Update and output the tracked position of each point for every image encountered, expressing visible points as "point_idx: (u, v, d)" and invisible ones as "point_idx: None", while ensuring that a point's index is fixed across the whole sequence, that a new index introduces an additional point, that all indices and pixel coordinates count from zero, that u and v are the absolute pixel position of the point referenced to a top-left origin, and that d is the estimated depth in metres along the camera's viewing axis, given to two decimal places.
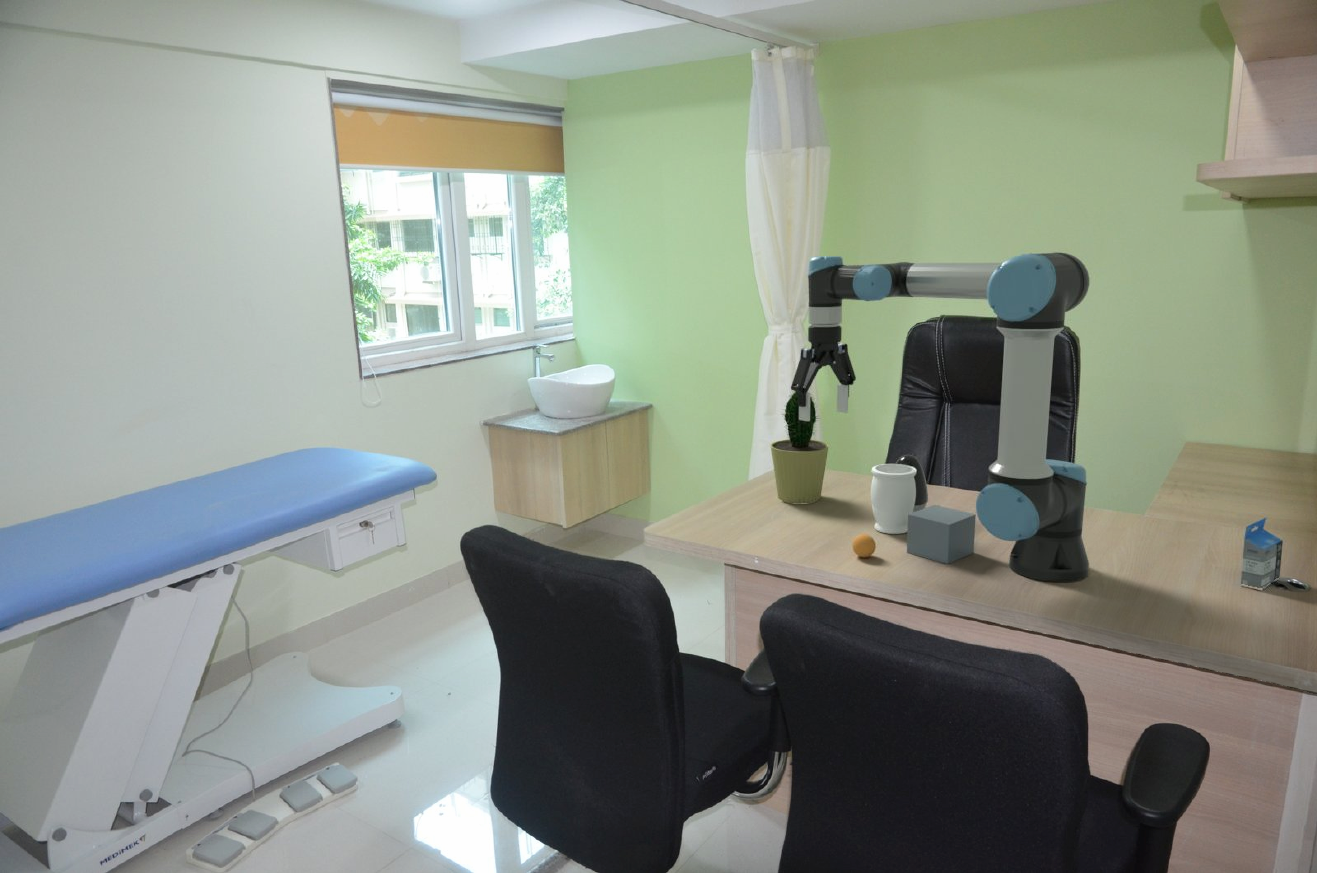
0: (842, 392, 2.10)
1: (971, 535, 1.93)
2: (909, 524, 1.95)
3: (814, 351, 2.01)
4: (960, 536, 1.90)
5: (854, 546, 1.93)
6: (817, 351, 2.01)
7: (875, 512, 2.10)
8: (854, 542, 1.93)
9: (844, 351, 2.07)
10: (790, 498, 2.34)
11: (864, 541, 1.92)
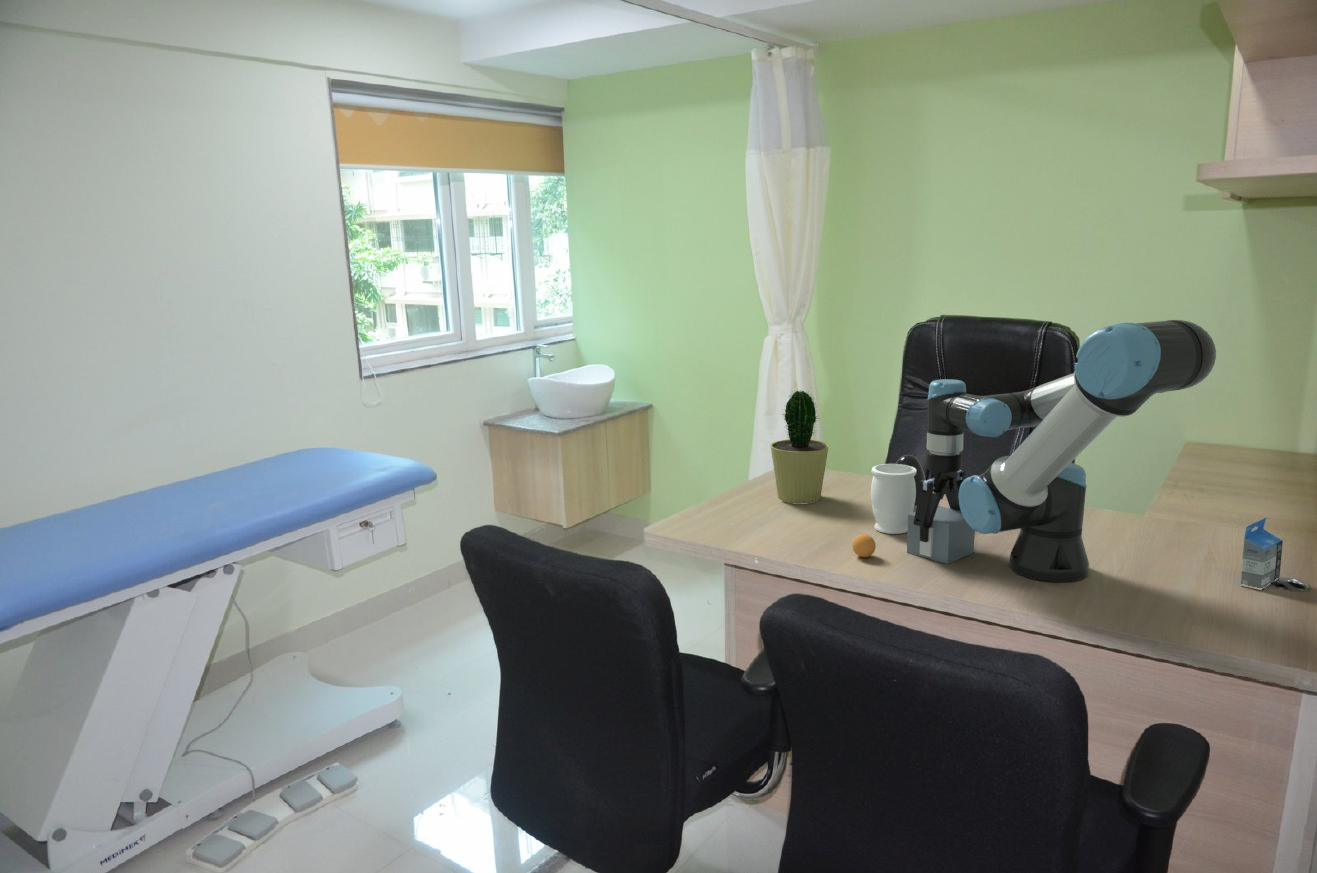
0: None
1: (971, 535, 1.93)
2: (909, 524, 1.95)
3: (934, 481, 1.89)
4: (960, 536, 1.90)
5: (854, 546, 1.93)
6: (937, 481, 1.89)
7: (875, 512, 2.10)
8: (854, 542, 1.93)
9: (962, 478, 1.95)
10: (790, 498, 2.34)
11: (864, 541, 1.92)
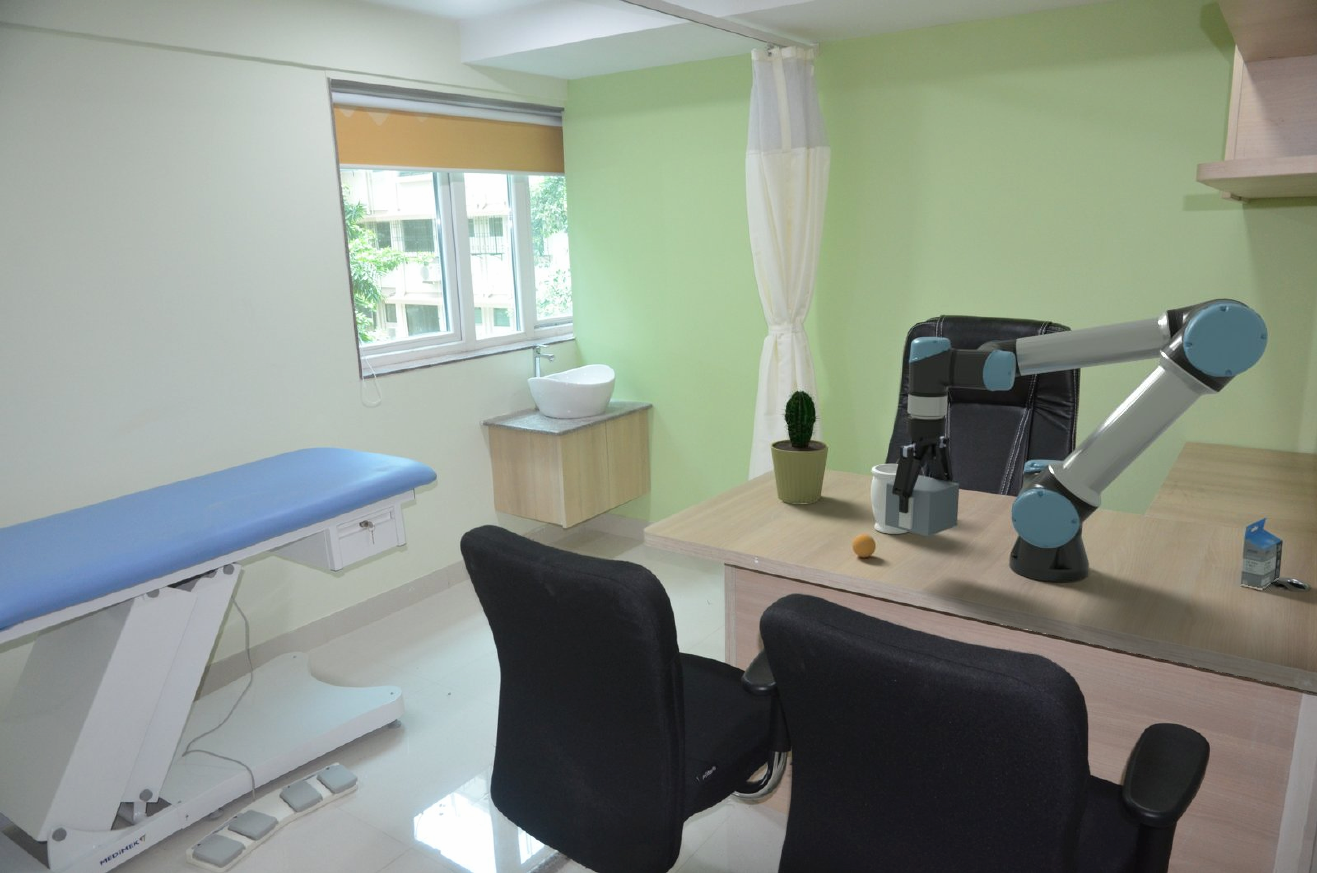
0: None
1: (954, 506, 1.79)
2: (887, 494, 1.80)
3: (915, 447, 1.75)
4: (942, 507, 1.76)
5: (854, 546, 1.93)
6: (918, 447, 1.75)
7: (875, 512, 2.10)
8: (854, 542, 1.93)
9: (945, 446, 1.80)
10: (790, 498, 2.34)
11: (864, 541, 1.92)
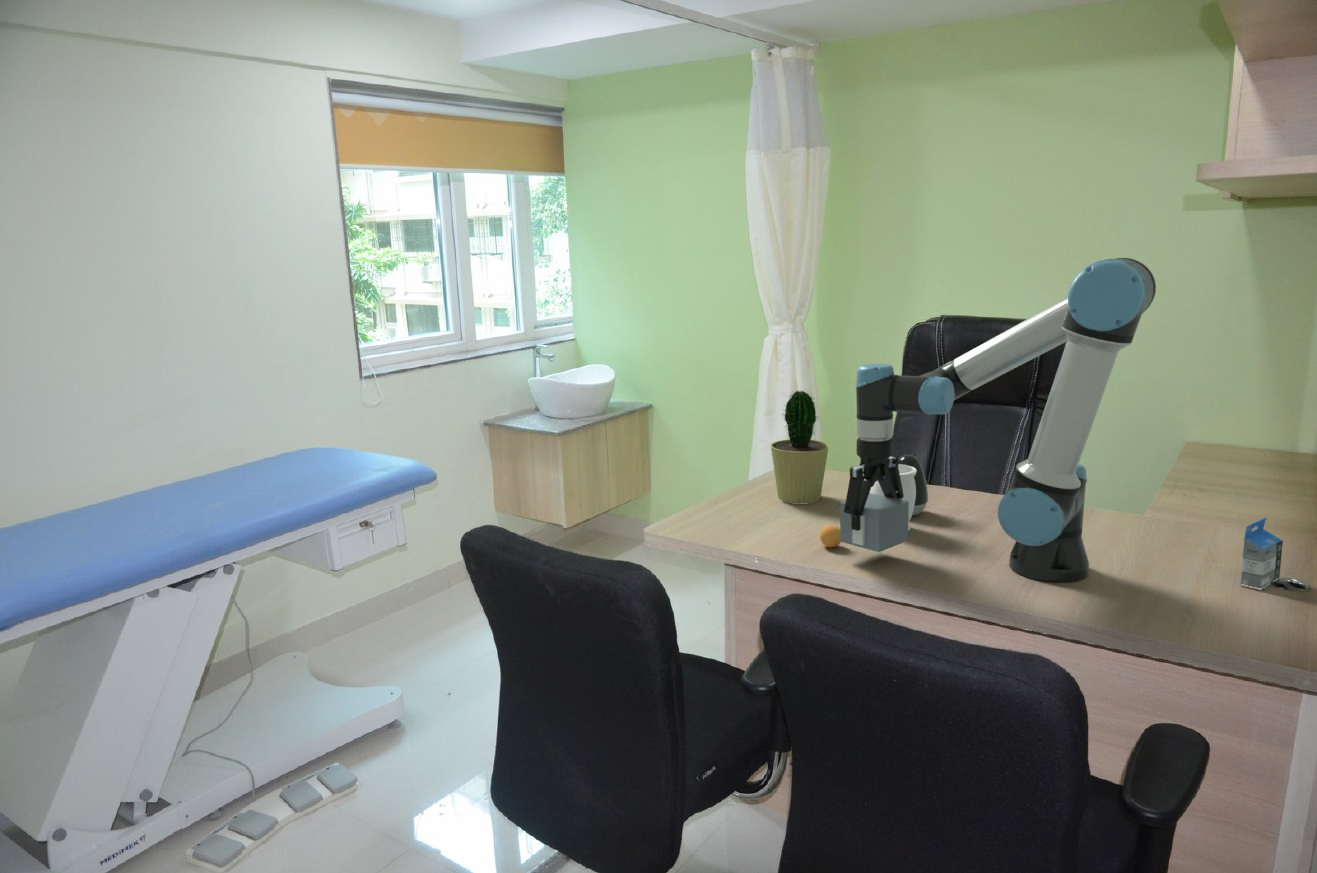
0: None
1: (904, 523, 1.89)
2: (841, 512, 1.91)
3: (864, 468, 1.85)
4: (892, 524, 1.87)
5: (827, 539, 1.99)
6: (867, 468, 1.85)
7: None
8: (830, 542, 1.99)
9: (894, 465, 1.91)
10: (790, 498, 2.34)
11: (825, 545, 2.01)
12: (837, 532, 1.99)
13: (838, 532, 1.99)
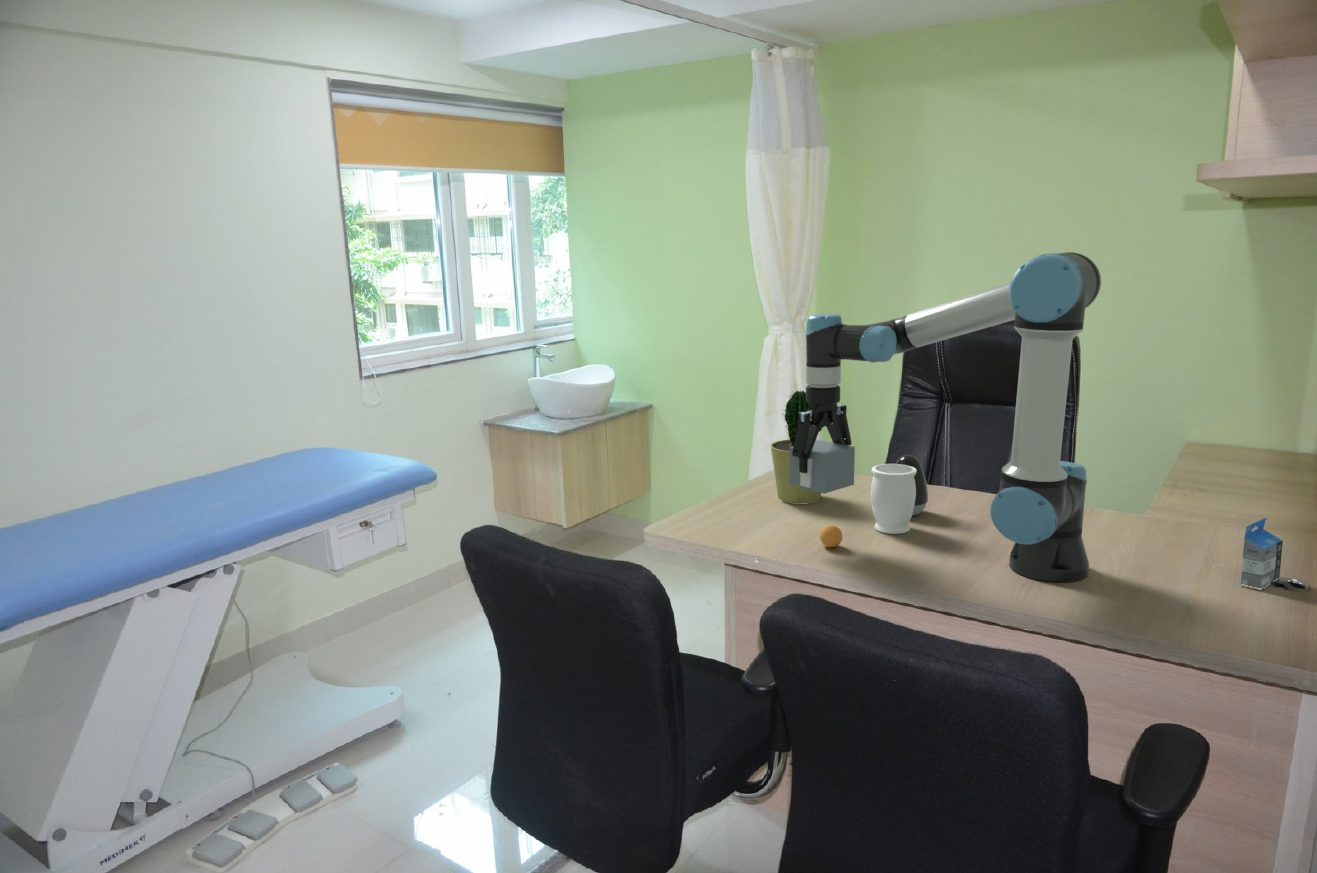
0: None
1: (850, 467, 1.98)
2: (790, 457, 2.00)
3: (812, 413, 1.94)
4: (838, 467, 1.95)
5: (827, 539, 1.99)
6: (815, 413, 1.94)
7: (875, 512, 2.10)
8: (830, 542, 1.99)
9: (842, 412, 2.00)
10: (790, 498, 2.34)
11: (825, 545, 2.01)
12: (837, 532, 1.99)
13: (838, 532, 1.99)
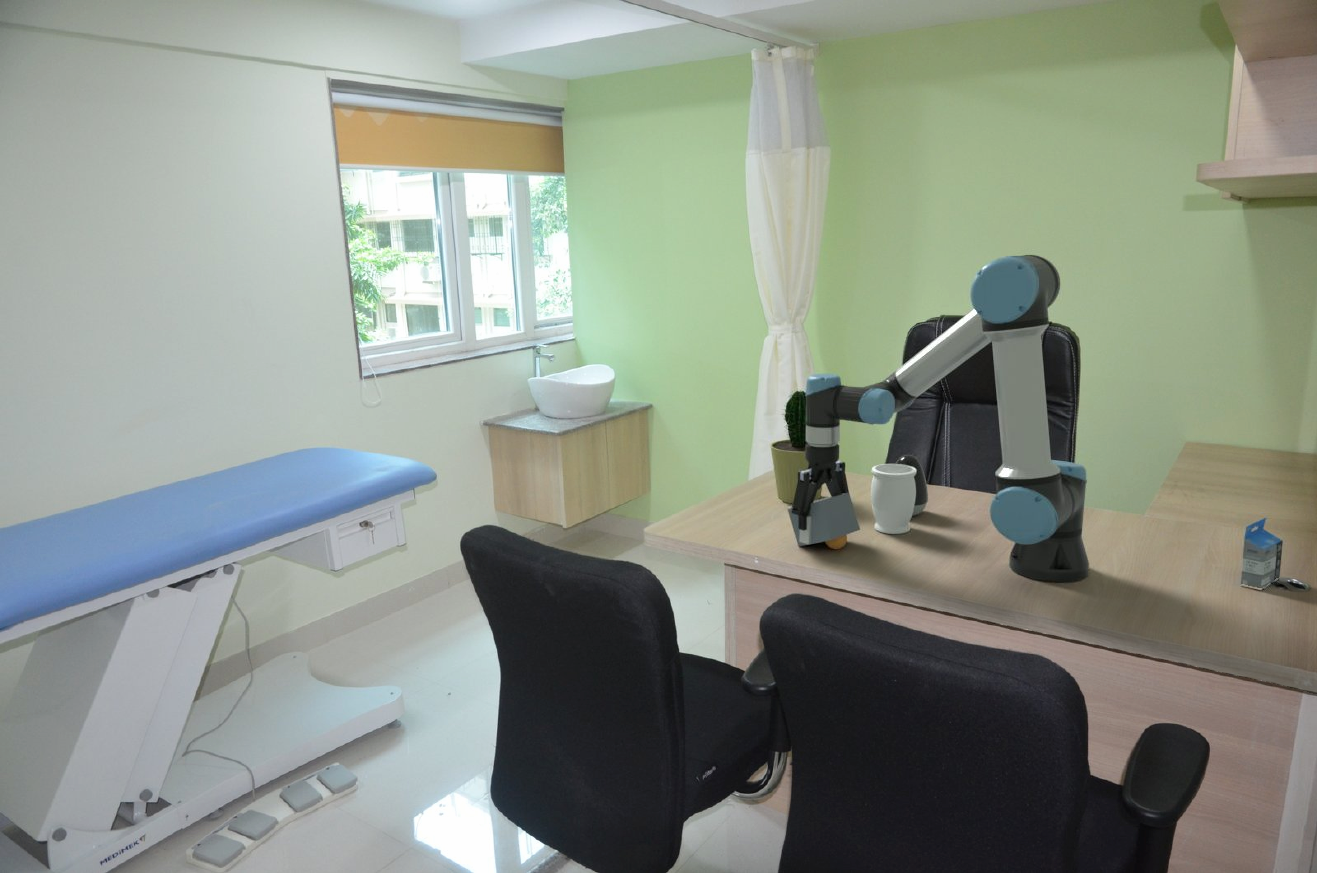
0: None
1: (851, 512, 2.00)
2: (791, 518, 2.03)
3: (811, 472, 1.97)
4: (838, 513, 1.98)
5: (831, 542, 1.98)
6: (814, 471, 1.97)
7: (875, 512, 2.10)
8: (833, 545, 1.98)
9: (841, 469, 2.03)
10: (790, 498, 2.34)
11: None
12: (843, 539, 1.98)
13: (844, 539, 1.98)
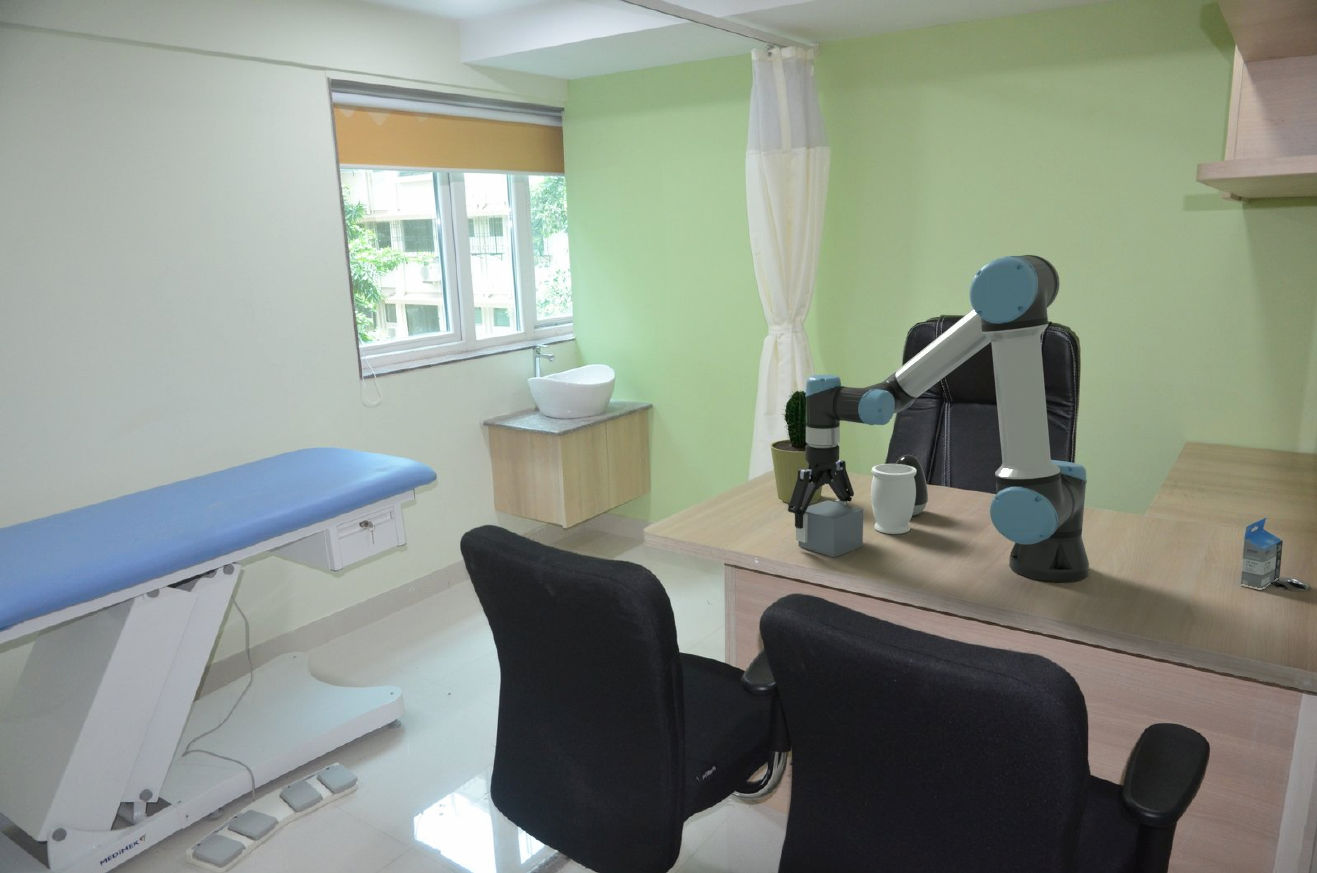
0: None
1: (859, 529, 1.99)
2: None
3: (811, 472, 1.97)
4: (847, 531, 1.96)
5: None
6: (814, 472, 1.97)
7: (875, 512, 2.10)
8: None
9: (842, 468, 2.03)
10: (790, 498, 2.34)
11: None
12: None
13: None
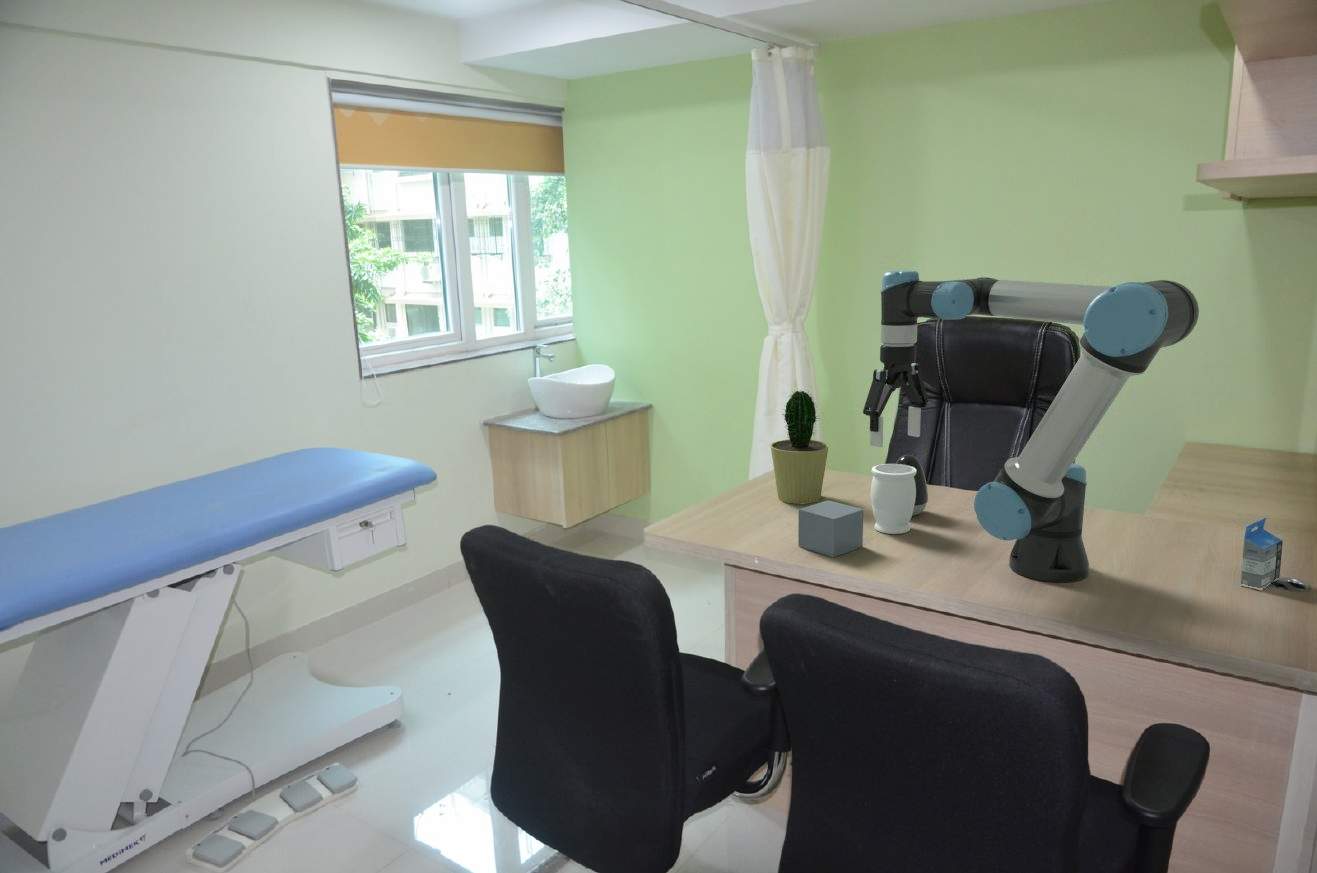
0: (914, 415, 1.97)
1: (859, 529, 1.99)
2: (799, 519, 2.01)
3: (887, 372, 1.88)
4: (847, 531, 1.96)
5: None
6: (891, 372, 1.88)
7: (875, 512, 2.10)
8: None
9: (917, 372, 1.94)
10: (790, 498, 2.34)
11: None
12: None
13: None
